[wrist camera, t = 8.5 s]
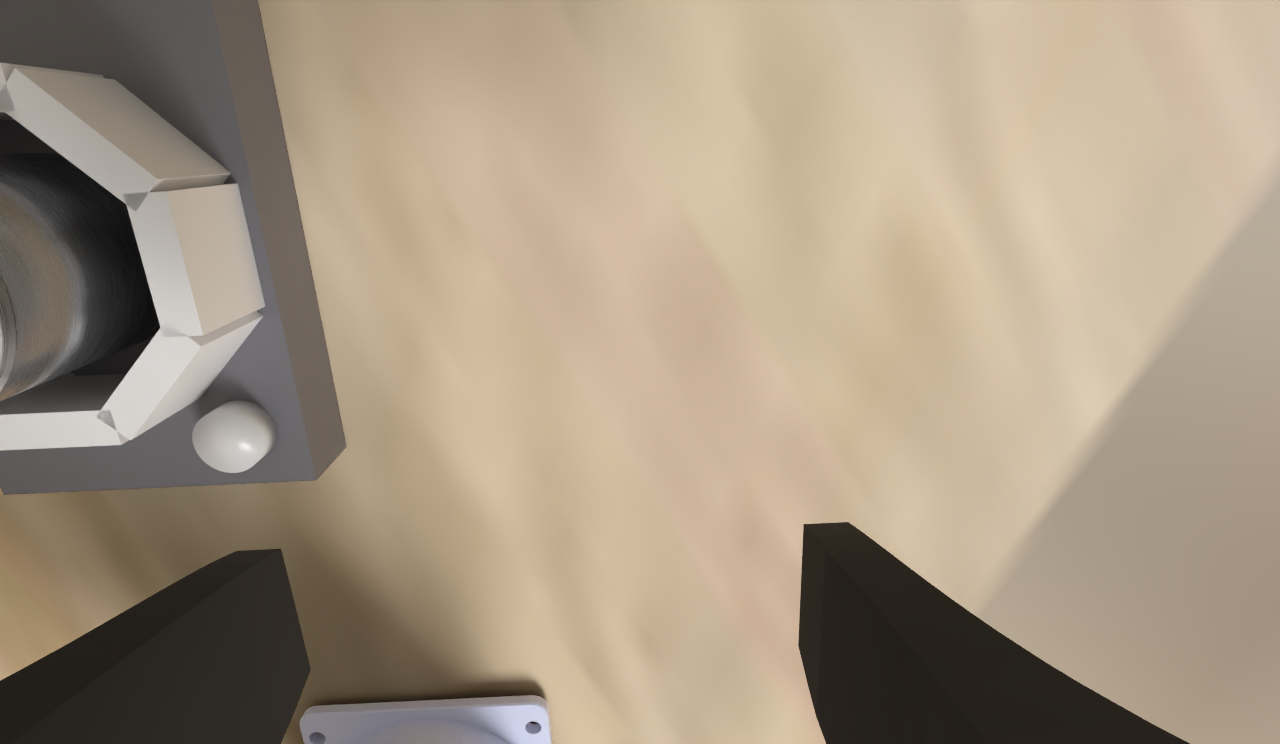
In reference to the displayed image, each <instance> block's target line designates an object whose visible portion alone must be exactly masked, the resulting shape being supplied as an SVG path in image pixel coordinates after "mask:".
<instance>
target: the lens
mask: <svg viewBox="0 0 1280 744" xmlns="http://www.w3.org/2000/svg"><path fill="white" fill-rule="evenodd" d="M160 328H161V327H160V324H159V320H158V317H157V313H156V309H155V306H154V302H153V299H152V295H151V291H150V288H149V284H148V281H147V277H146V274H145V270H144V266H143V263H142V259H141V256H140V252H139V248H138V245H137V241H136V238H135V234H134V230H133V227H132V223H131V220H130V216H129V213H128V209H127V205H126V204H125V203H124V202H122V201H121V200H120V199H118V198H117V197H116V196H115V195H113V194H112V193H111V192H109V191H108V190H107V189H105V188H104V187H103V186H101V185H100V184H99V183H97V182H96V181H95V180H93V179H92V178H91V177H90V176H88V175H87V174H86V173H84V172H83V171H82V170H80V169H79V168H78V167H76V166H75V165H74V164H72V163H71V162H70V161H68V160H67V159H66V158H65V157H63V156H62V155H61V154H59V153H19V154H0V401H2V400H4V399H7V398H9V397H12V396H14V395H16V394H19V393H21V392H23V391H26V390H28V389H31V388H33V387H35V386H38V385H40V384H42V383H45V382H47V381H50V380H52V379H54V378H57V377H59V376H61V375H64V374H66V373H69V372H71V371H73V370H76V369H78V368H81V367H83V366H85V365H88V364H90V363H92V362H95V361H97V360H100V359H102V358H104V357H107V356H109V355H111V354H114V353H116V352H119V351H121V350H123V349H126V348H128V347H130V346H133V345H135V344H138V343H140V342H142V341H145V340H147V339H149V338H151V337H153V336H155V335H156V333H157V332H158V330H159V329H160Z"/></svg>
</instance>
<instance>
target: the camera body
mask: <svg viewBox="0 0 1280 744" xmlns="http://www.w3.org/2000/svg"><path fill="white" fill-rule="evenodd" d="M19 153H59V154H61V155H62V156H63V157H65V158H66V159H67V160H68V161H70V162H71V163H72V164H74V165H75V166H76V167H78V168H79V169H80V170H82V171H83V172H84V173H86V174H87V175H88V176H90V177H91V178H92V179H93V180H95V181H96V182H97V183H99V184H100V185H101V186H103V187H104V188H105V189H107V190H108V191H109V192H111V193H112V194H113V195H115V196H116V197H117V198H118V199H120V200H121V201H122V202H124V203H125V204H126V205H127V209H128V213H129V216H130V220H131V223H132V227H133V230H134V234H135V238H136V241H137V245H138V248H139V252H140V256H141V259H142V263H143V266H144V270H145V274H146V277H147V281H148V284H149V288H150V291H151V295H152V299H153V302H154V306H155V309H156V313H157V317H158V320H159V324H160V327H161V328H160V329H159V330H158V332H157V333H156V335H155V336H153V337H151V338H149V339H147V340H145V341H142V342H140V343H138V344H135V345H133V346H130V347H128V348H126V349H123V350H121V351H119V352H116V353H114V354H111V355H109V356H107V357H104V358H102V359H100V360H97V361H95V362H92V363H90V364H88V365H85V366H83V367H81V368H78V369H76V370H73V371H71V372H69V373H66V374H64V375H61V376H59V377H57V378H54V379H52V380H50V381H47V382H45V383H42V384H40V385H38V386H35V387H33V388H31V389H28V390H26V391H23V392H21V393H19V394H16V395H14V396H12V397H9V398H7V399H4V400H2V401H0V487H1V489H2V492H3V494H4V495H8V494H30V493H51V492H73V491H95V490H116V489H138V488H159V487H181V486H202V485H224V484H245V483H267V482H288V481H310V480H317V479H318V478H319V477H320V475H321V474H322V473H323V472H324V471H325V470H326V469H327V468H328V467H329V466H330V464H331V463H332V462H333V461H334V460H335V459H336V458H337V457H338V456H339V454H340V453H341V452H342V451H343V450H344V449H345V448H346V443H345V438H344V433H343V428H342V423H341V418H340V413H339V408H338V403H337V398H336V393H335V388H334V383H333V378H332V373H331V368H330V363H329V358H328V353H327V348H326V343H325V338H324V333H323V327H322V322H321V317H320V312H319V307H318V302H317V297H316V292H315V287H314V282H313V277H312V272H311V267H310V262H309V257H308V252H307V247H306V242H305V237H304V232H303V227H302V222H301V217H300V212H299V207H298V202H297V197H296V192H295V187H294V182H293V177H292V171H291V166H290V161H289V156H288V151H287V146H286V141H285V136H284V131H283V126H282V121H281V116H280V111H279V106H278V101H277V96H276V91H275V86H274V81H273V76H272V71H271V66H270V61H269V56H268V51H267V46H266V41H265V36H264V31H263V26H262V21H261V16H260V10H259V5H258V0H0V154H19Z"/></svg>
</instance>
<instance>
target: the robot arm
mask: <svg viewBox="0 0 1280 744" xmlns="http://www.w3.org/2000/svg"><path fill="white" fill-rule="evenodd" d="M799 650H800V654H801V658H802V662H803V666H804V670H805V674H806V678H807V683H808V686H809V690H810V694H811V698H812V702H813V705H814V709H815V713H816V717H817V719H818V722H819V725H820V728H821V730H822V733H823V736H824V738H825V741H826V744H1189V743H1188V742H1186V741H1184V740H1182V739H1180V738H1178V737H1176V736H1174V735H1172V734H1170V733H1168V732H1166V731H1165V730H1163V729H1161V728H1159V727H1157V726H1155V725H1153V724H1151V723H1149V722H1148V721H1146V720H1144V719H1142V718H1140V717H1139V716H1137V715H1135V714H1133V713H1131V712H1130V711H1128V710H1126V709H1124V708H1123V707H1121V706H1119V705H1117V704H1116V703H1114V702H1112V701H1110V700H1109V699H1107V698H1105V697H1103V696H1101V695H1100V694H1098V693H1096V692H1094V691H1093V690H1091V689H1089V688H1087V687H1085V686H1083V685H1082V684H1080V683H1079V682H1077V681H1075V680H1073V679H1072V678H1070V677H1068V676H1067V675H1065V674H1064V673H1062V672H1060V671H1059V670H1057V669H1055V668H1054V667H1052V666H1050V665H1049V664H1047V663H1045V662H1044V661H1043V660H1041V659H1039V658H1038V657H1036V656H1035V655H1033V654H1032V653H1030V652H1029V651H1027V650H1026V649H1024V648H1022V647H1021V646H1019V645H1018V644H1016V643H1015V642H1013V641H1012V640H1010V639H1009V638H1007V637H1005V636H1004V635H1003V634H1001V633H999V632H998V631H996V630H995V629H993V628H992V627H990V626H989V625H988V624H986V623H985V622H983V621H982V620H980V619H979V618H978V617H976V616H975V615H973V614H972V613H970V612H969V611H967V610H966V609H965V608H963V607H962V606H960V605H959V604H958V603H956V602H955V601H953V600H952V599H951V598H949V597H948V596H946V595H945V594H944V593H942V592H941V591H940V590H938V589H937V588H936V587H934V586H933V585H931V584H930V583H929V582H927V581H926V580H925V579H923V578H922V577H921V576H919V575H918V574H917V573H915V572H914V571H913V570H911V569H910V568H909V567H907V566H906V565H905V564H904V563H902V562H901V561H900V560H898V559H897V558H896V557H894V556H893V555H892V554H890V553H889V552H888V551H886V550H885V549H884V548H883V547H881V546H880V545H879V544H877V543H876V542H875V541H873V540H872V539H871V538H869V537H868V536H867V535H865V534H864V533H863V532H861V531H860V530H858V529H857V528H856V527H854V526H853V525H851V524H850V523H848V522H843V523H822V524H804V532H803V555H802V578H801V600H800V623H799ZM309 672H310V665H309V661H308V657H307V653H306V649H305V645H304V641H303V636H302V632H301V628H300V624H299V620H298V616H297V612H296V608H295V604H294V600H293V596H292V592H291V588H290V584H289V580H288V576H287V572H286V567H285V563H284V559H283V555H282V551H281V549H270V550H249V551H236V552H234V553H231V554H229V555H227V556H225V557H223V558H220V559H218V560H216V561H214V562H212V563H210V564H208V565H207V566H205V567H203V568H201V569H199V570H197V571H195V572H193V573H192V574H190V575H188V576H186V577H184V578H183V579H181V580H179V581H177V582H175V583H174V584H172V585H170V586H168V587H167V588H165V589H163V590H161V591H159V592H158V593H156V594H154V595H153V596H151V597H149V598H147V599H146V600H144V601H142V602H140V603H139V604H137V605H135V606H133V607H132V608H130V609H128V610H126V611H125V612H123V613H121V614H119V615H118V616H116V617H114V618H112V619H111V620H109V621H107V622H105V623H104V624H102V625H100V626H98V627H97V628H95V629H93V630H91V631H90V632H88V633H86V634H85V635H83V636H81V637H79V638H78V639H76V640H74V641H72V642H71V643H69V644H67V645H65V646H64V647H62V648H60V649H58V650H56V651H55V652H53V653H51V654H49V655H47V656H45V657H43V658H42V659H40V660H38V661H36V662H34V663H32V664H31V665H29V666H27V667H25V668H23V669H21V670H20V671H18V672H16V673H14V674H12V675H10V676H9V677H7V678H5V679H3V680H1V681H0V744H281V742H282V740H283V737H284V735H285V733H286V730H287V728H288V725H289V723H290V721H291V718H292V716H293V714H294V711H295V709H296V706H297V704H298V701H299V698H300V696H301V693H302V690H303V688H304V685H305V683H306V680H307V677H308V675H309ZM532 721H534V722H538V724H531V723H530V722H532ZM300 729H301V733H302V737H303V741H304V744H552V735H551V726H550V716H549V707H548V704H547V702H546V701H545V700H544V699H543V698H542V697H539V696H535V695H524V696H504V697H484V698H463V699H443V700H423V701H402V702H382V703H362V704H341V705H321V706H313V707H310V708H308V709H307V710H306V711H305V713H304V714H303V716H302V718H301V720H300ZM318 732H319V733H322V734H319V733H318Z"/></svg>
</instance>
